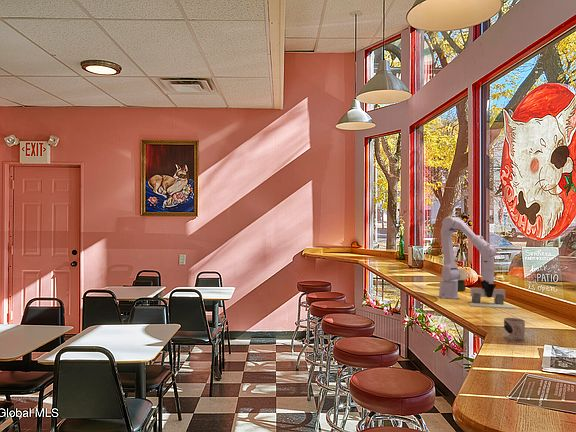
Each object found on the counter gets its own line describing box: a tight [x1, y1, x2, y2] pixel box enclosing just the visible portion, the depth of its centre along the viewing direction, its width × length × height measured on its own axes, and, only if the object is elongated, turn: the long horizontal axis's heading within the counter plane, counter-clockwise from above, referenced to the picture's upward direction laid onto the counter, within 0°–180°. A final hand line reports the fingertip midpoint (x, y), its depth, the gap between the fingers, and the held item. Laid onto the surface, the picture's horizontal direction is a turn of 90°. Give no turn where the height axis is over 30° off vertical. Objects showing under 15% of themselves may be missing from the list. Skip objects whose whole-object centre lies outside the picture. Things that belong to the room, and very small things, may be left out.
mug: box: [503, 317, 526, 342], centre depth 165 cm, size 10×7×7 cm
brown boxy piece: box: [471, 294, 482, 303], centre depth 239 cm, size 3×6×5 cm, turn 169°
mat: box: [468, 302, 516, 310], centre depth 230 cm, size 20×7×1 cm, turn 79°
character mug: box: [458, 268, 471, 291], centre depth 282 cm, size 11×7×13 cm, turn 80°
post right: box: [493, 295, 505, 305], centre depth 237 cm, size 3×6×5 cm, turn 169°
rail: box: [469, 287, 506, 299], centre depth 238 cm, size 16×3×4 cm, turn 79°
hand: (487, 296), depth 238 cm, fingers open, 7 cm apart
